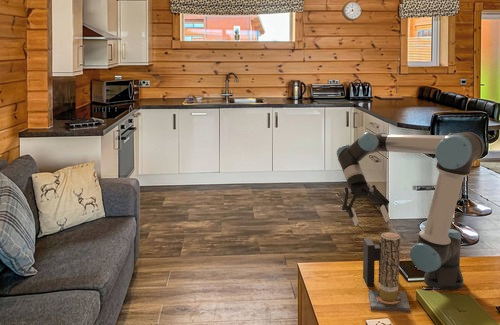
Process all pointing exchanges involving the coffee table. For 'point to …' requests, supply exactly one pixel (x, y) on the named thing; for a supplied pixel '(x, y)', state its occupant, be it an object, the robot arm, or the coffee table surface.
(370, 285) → the light fixture
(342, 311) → the coffee table surface
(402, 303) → the plate
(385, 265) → the paper tube
